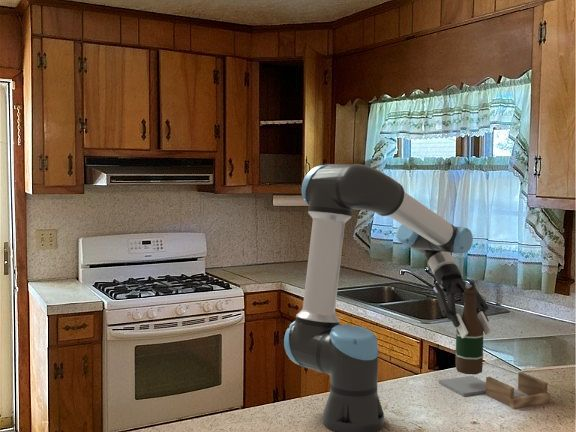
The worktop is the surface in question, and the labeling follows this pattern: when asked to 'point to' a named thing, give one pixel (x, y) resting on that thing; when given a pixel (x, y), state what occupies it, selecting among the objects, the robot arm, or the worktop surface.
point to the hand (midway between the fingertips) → (477, 334)
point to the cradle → (525, 384)
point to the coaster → (465, 385)
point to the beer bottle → (470, 338)
